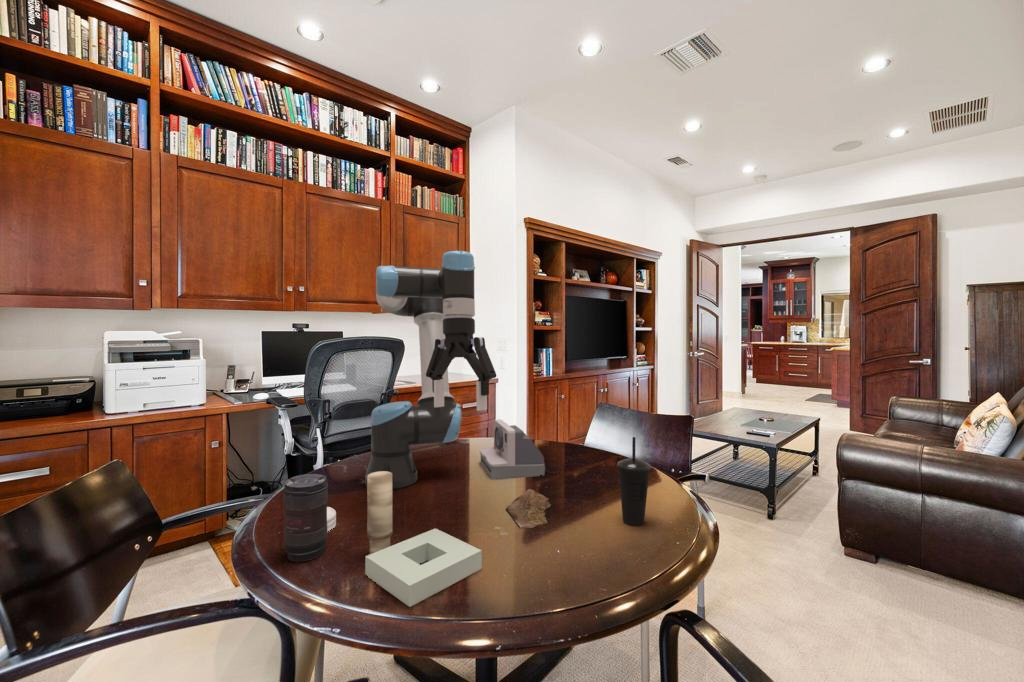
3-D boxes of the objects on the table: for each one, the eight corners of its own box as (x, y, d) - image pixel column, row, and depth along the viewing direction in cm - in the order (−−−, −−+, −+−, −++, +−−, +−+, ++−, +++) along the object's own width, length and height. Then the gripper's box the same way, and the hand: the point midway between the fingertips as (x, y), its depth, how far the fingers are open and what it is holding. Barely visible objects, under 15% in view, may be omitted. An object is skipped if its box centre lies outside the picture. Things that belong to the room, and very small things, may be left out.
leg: (362, 554, 89) (362, 475, 89) (384, 546, 92) (384, 469, 92) (375, 563, 86) (375, 480, 85) (397, 553, 89) (397, 474, 89)
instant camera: (479, 461, 155) (479, 418, 155) (537, 459, 158) (537, 417, 157) (481, 481, 134) (481, 431, 134) (549, 478, 137) (549, 430, 136)
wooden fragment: (546, 531, 100) (546, 527, 100) (498, 528, 102) (498, 524, 102) (553, 492, 125) (553, 488, 125) (515, 490, 127) (515, 486, 127)
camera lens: (282, 567, 84) (281, 488, 84) (285, 548, 91) (284, 476, 91) (328, 559, 87) (328, 483, 87) (327, 541, 94) (327, 471, 94)
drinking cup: (650, 517, 107) (651, 435, 107) (649, 530, 100) (650, 442, 100) (618, 513, 110) (619, 432, 109) (615, 525, 102) (615, 439, 102)
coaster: (288, 543, 94) (288, 526, 94) (287, 525, 103) (287, 510, 103) (338, 533, 99) (338, 517, 99) (333, 517, 108) (333, 502, 108)
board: (365, 575, 81) (365, 556, 81) (435, 544, 93) (435, 528, 93) (409, 607, 72) (409, 585, 72) (481, 568, 84) (481, 550, 84)
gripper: (411, 320, 109) (411, 407, 108) (489, 313, 94) (490, 413, 93) (433, 321, 115) (434, 404, 114) (510, 315, 100) (512, 409, 99)
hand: (459, 408), depth 104 cm, fingers open, 13 cm apart
